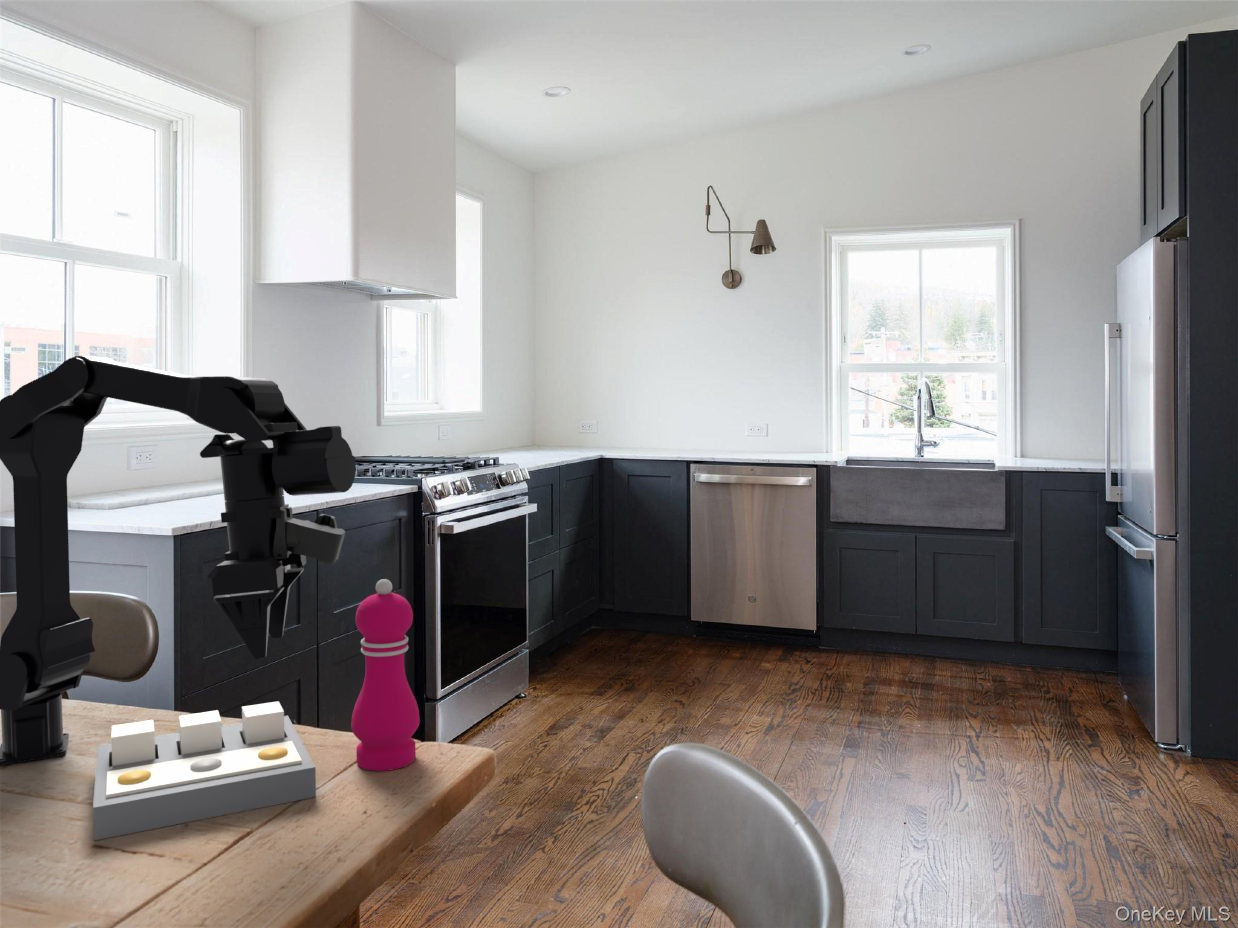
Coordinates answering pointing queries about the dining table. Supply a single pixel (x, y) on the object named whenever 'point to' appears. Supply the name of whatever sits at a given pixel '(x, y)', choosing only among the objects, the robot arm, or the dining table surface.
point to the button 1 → (133, 742)
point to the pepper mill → (385, 684)
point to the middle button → (200, 732)
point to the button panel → (199, 781)
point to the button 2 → (262, 722)
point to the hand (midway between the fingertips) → (269, 647)
